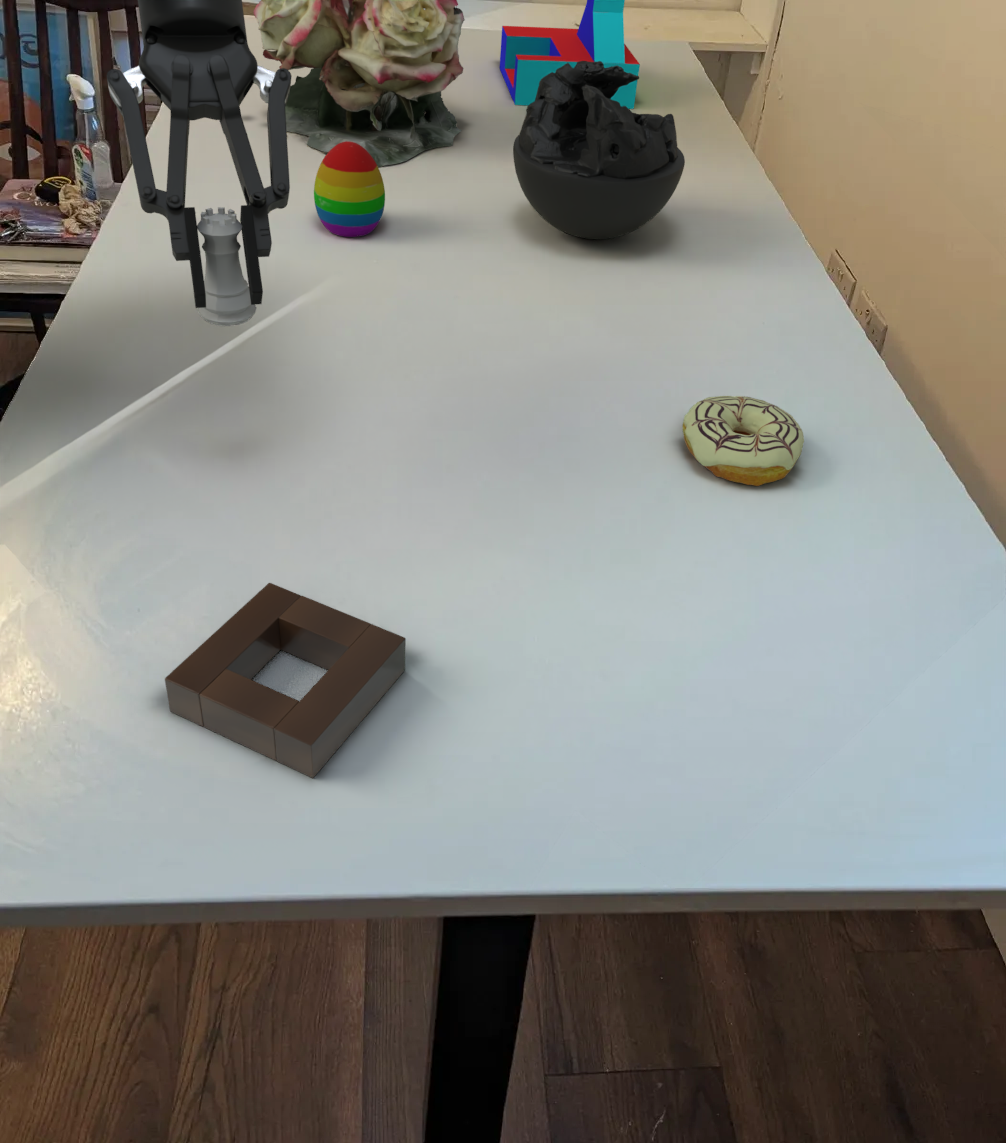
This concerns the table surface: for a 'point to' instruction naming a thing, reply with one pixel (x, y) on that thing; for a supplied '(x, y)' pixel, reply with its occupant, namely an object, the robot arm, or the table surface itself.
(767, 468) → the decorated donut
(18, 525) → the table surface
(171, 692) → the brown square frame
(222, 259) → the rook chess piece
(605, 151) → the coal bowl
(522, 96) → the building blocks toy
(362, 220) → the decorative egg
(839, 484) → the table surface
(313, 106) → the rose bouquet
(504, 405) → the table surface
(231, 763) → the table surface
